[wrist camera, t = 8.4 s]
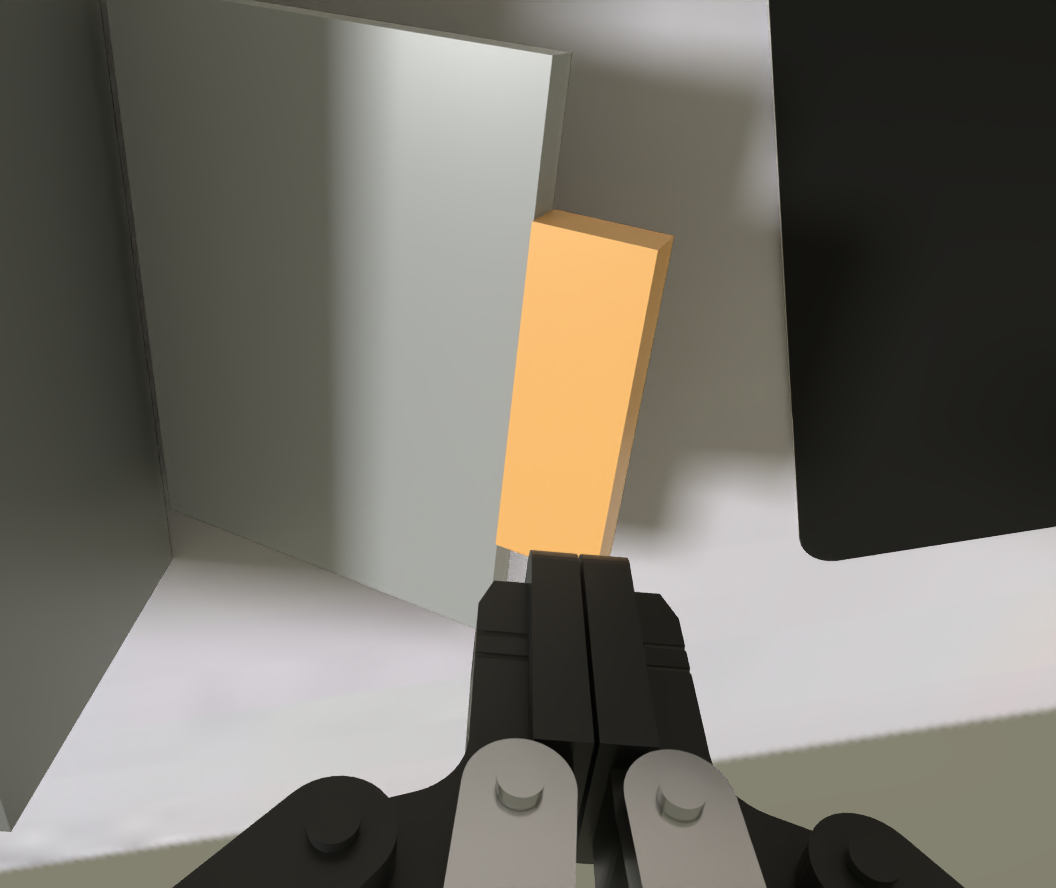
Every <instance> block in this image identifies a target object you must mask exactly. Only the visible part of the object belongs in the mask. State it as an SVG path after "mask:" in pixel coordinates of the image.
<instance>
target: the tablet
mask: <svg viewBox="0 0 1056 888" xmlns="http://www.w3.org/2000/svg"><path fill="white" fill-rule="evenodd" d="M767 15H768V32H769V49H770V66H771V83H772V99H773V116H774V133H775V150H776V167H777V183H778V200H779V217H780V234H781V251H782V267H783V284H784V301H785V318H786V334H787V351H788V368H789V385H790V402H791V418H792V435H793V452H794V469H795V486H796V502H797V519H798V536H799V541H800V543H801V546H802V547H803V549H804V550H805V551H806V552H807V553H808V554H809V555H811V556H812V557H814V558H817V559H820V560H824V561H838V560H845V559H851V558H858V557H864V556H870V555H877V554H883V553H890V552H896V551H902V550H909V549H915V548H922V547H928V546H934V545H941V544H947V543H953V542H960V541H966V540H973V539H979V538H985V537H992V536H998V535H1004V534H1011V533H1017V532H1024V531H1030V530H1036V529H1043V528H1049V527H1055V526H1056V0H767Z"/></svg>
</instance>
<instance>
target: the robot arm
mask: <svg viewBox="0 0 1056 888" xmlns="http://www.w3.org/2000/svg"><path fill="white" fill-rule="evenodd" d="M576 863H583V864H594V875H595V887H596V888H964V887H963V886H962V885H961V884H959V883H958V882H957V881H956V880H955V879H953V878H952V877H951V876H950V875H949V874H947V873H946V872H945V871H944V870H943V869H941V868H940V867H939V866H938V865H937V864H935V863H934V862H933V861H932V860H931V859H930V858H928V857H927V856H926V855H925V854H924V853H922V852H921V851H920V850H919V849H918V848H916V847H915V846H914V845H913V844H912V843H911V842H909V841H908V840H907V839H906V838H904V837H903V836H902V835H901V834H899V833H898V832H897V831H895V830H894V829H893V828H891V827H889V826H888V825H886V824H884V823H883V822H880V821H878V820H876V819H874V818H871V817H868V816H864V815H860V814H854V813H839V814H834V815H831V816H828V817H826V818H824V819H823V820H821V821H820V822H819V823H818V824H817V825H816V826H815V827H814V829H813V831H811V830H808V829H806V828H803V827H801V826H798V825H795V824H792V823H790V822H787V821H784V820H781V819H779V818H776V817H773V816H770V815H768V814H766V813H763V812H761V811H759V810H757V809H755V808H753V807H752V806H750V805H748V804H747V803H745V802H744V801H743V800H741V799H740V798H738V797H737V796H736V794H735V792H734V790H733V788H732V786H731V785H730V783H729V781H728V780H727V779H726V778H725V777H724V775H723V774H722V773H721V772H720V771H719V770H718V769H717V768H716V767H714V766H713V764H712V761H711V758H710V754H709V750H708V746H707V741H706V737H705V732H704V728H703V724H702V719H701V715H700V710H699V706H698V702H697V697H696V693H695V688H694V684H693V680H692V675H691V674H690V666H689V662H688V657H687V653H686V651H685V644H684V640H683V635H682V631H681V627H680V622H679V618H678V617H677V616H676V615H675V613H674V612H673V611H672V609H671V608H670V607H669V605H668V604H667V603H666V601H665V600H664V599H663V598H662V596H661V595H660V594H653V593H641V592H634V587H633V581H632V575H631V569H630V563H629V560H628V558H624V557H612V556H600V555H588V554H580V555H579V558H578V555H577V554H574V553H563V552H551V551H539V550H530V553H529V558H528V564H527V571H526V579H525V583H519V582H507V581H495V580H494V581H493V583H492V584H491V586H490V587H489V588H488V590H487V591H486V593H485V594H484V596H483V597H482V598H481V600H480V601H479V603H478V613H477V622H476V632H475V642H474V651H473V661H472V670H471V682H470V695H469V709H468V722H467V736H466V749H465V755H464V757H463V758H462V760H461V762H460V764H459V765H458V766H457V767H456V768H455V770H454V771H453V772H452V773H450V774H449V775H448V776H447V777H446V778H444V779H443V780H441V781H440V782H438V783H437V784H434V785H432V786H430V787H428V788H425V789H422V790H419V791H415V792H411V793H407V794H403V795H399V796H394V797H390V798H388V797H387V796H386V795H385V794H384V793H383V792H382V791H381V790H380V789H379V788H378V787H376V786H375V785H373V784H372V783H369V782H367V781H365V780H363V779H359V778H355V777H349V776H331V777H326V778H321V779H318V780H315V781H312V782H310V783H308V784H306V785H304V786H302V787H300V788H299V789H297V790H296V791H294V792H293V793H292V794H290V795H289V796H288V797H287V798H285V799H284V800H283V801H281V802H280V803H279V804H278V805H276V806H275V807H274V808H273V809H271V810H270V811H269V812H268V813H266V814H265V815H264V816H262V817H261V818H260V819H259V820H257V821H256V822H255V823H254V824H252V825H251V826H250V827H249V828H247V829H246V830H245V831H243V832H242V833H241V834H240V835H238V836H237V837H236V838H235V839H233V840H232V841H231V842H230V843H228V844H227V845H226V846H225V847H223V848H222V849H221V850H220V851H218V852H217V853H216V854H215V855H213V856H212V857H211V858H209V859H208V860H207V861H206V862H204V863H203V864H202V865H200V866H199V867H198V868H197V869H195V870H194V871H193V872H192V873H190V874H189V875H188V876H187V877H185V878H184V879H183V880H181V881H180V882H179V883H178V884H176V885H175V886H174V887H173V888H575V881H576Z"/></svg>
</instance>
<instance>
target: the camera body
mask: <svg viewBox="0 0 1056 888" xmlns="http://www.w3.org/2000/svg"><path fill="white" fill-rule="evenodd" d="M171 561H172V553H171V546H170V538H169V530H168V523H167V515H166V507H165V500H164V492H163V484H162V477H161V469H160V461H159V454H158V446H157V438H156V431H155V423H154V415H153V408H152V400H151V392H150V385H149V377H148V369H147V362H146V354H145V346H144V339H143V331H142V323H141V316H140V308H139V300H138V293H137V285H136V277H135V270H134V262H133V254H132V247H131V239H130V231H129V224H128V216H127V208H126V201H125V193H124V185H123V178H122V170H121V162H120V155H119V147H118V139H117V132H116V124H115V116H114V109H113V101H112V93H111V86H110V78H109V70H108V63H107V55H106V47H105V40H104V32H103V24H102V17H101V9H100V1H99V0H0V831H6V832H11V831H12V829H13V827H14V826H15V824H16V822H17V821H18V819H19V817H20V816H21V814H22V812H23V811H24V809H25V807H26V806H27V804H28V802H29V800H30V799H31V797H32V795H33V794H34V792H35V790H36V789H37V787H38V785H39V784H40V782H41V780H42V778H43V777H44V775H45V773H46V772H47V770H48V768H49V767H50V765H51V763H52V762H53V760H54V758H55V757H56V755H57V753H58V751H59V750H60V748H61V746H62V745H63V743H64V741H65V740H66V738H67V736H68V735H69V733H70V731H71V729H72V728H73V726H74V724H75V723H76V721H77V719H78V718H79V716H80V714H81V713H82V711H83V709H84V708H85V706H86V704H87V702H88V701H89V699H90V697H91V696H92V694H93V692H94V691H95V689H96V687H97V686H98V684H99V682H100V680H101V679H102V677H103V675H104V674H105V672H106V670H107V669H108V667H109V665H110V664H111V662H112V660H113V659H114V657H115V655H116V653H117V652H118V650H119V648H120V647H121V645H122V643H123V642H124V640H125V638H126V637H127V635H128V633H129V632H130V630H131V628H132V626H133V625H134V623H135V621H136V620H137V618H138V616H139V615H140V613H141V611H142V610H143V608H144V606H145V604H146V603H147V601H148V599H149V598H150V596H151V594H152V593H153V591H154V589H155V588H156V586H157V584H158V583H159V581H160V579H161V577H162V576H163V574H164V572H165V571H166V569H167V567H168V566H169V564H170V562H171Z"/></svg>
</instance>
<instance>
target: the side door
mask: <svg viewBox="0 0 1056 888" xmlns="http://www.w3.org/2000/svg"><path fill="white" fill-rule="evenodd" d="M106 7H107V15H108V23H109V30H110V38H111V46H112V54H113V62H114V70H115V78H116V85H117V93H118V101H119V109H120V117H121V125H122V133H123V141H124V148H125V156H126V164H127V172H128V180H129V188H130V196H131V204H132V211H133V219H134V227H135V235H136V243H137V251H138V259H139V266H140V274H141V282H142V290H143V298H144V306H145V314H146V322H147V329H148V337H149V345H150V353H151V361H152V369H153V377H154V385H155V392H156V400H157V408H158V416H159V424H160V432H161V440H162V447H163V455H164V463H165V471H166V479H167V487H168V495H169V503H170V509H172V510H175V511H177V512H180V513H182V514H185V515H187V516H190V517H193V518H195V519H198V520H200V521H203V522H205V523H208V524H210V525H213V526H215V527H218V528H220V529H223V530H226V531H228V532H231V533H233V534H236V535H238V536H241V537H243V538H246V539H248V540H251V541H254V542H256V543H259V544H261V545H264V546H266V547H269V548H271V549H274V550H276V551H279V552H281V553H284V554H287V555H289V556H292V557H294V558H297V559H299V560H302V561H304V562H307V563H309V564H312V565H315V566H317V567H320V568H322V569H325V570H327V571H330V572H332V573H335V574H337V575H340V576H342V577H345V578H348V579H350V580H353V581H355V582H358V583H360V584H363V585H365V586H368V587H370V588H373V589H376V590H378V591H381V592H383V593H386V594H388V595H391V596H393V597H396V598H398V599H401V600H403V601H406V602H409V603H411V604H414V605H416V606H419V607H421V608H424V609H426V610H429V611H431V612H434V613H437V614H439V615H442V616H444V617H447V618H449V619H452V620H454V621H457V622H459V623H462V624H464V625H467V626H470V627H472V628H475V629H476V622H477V613H478V603H479V601H480V600H481V598H482V597H483V596H484V594H485V593H486V591H487V590H488V588H489V587H490V586H491V584H492V583H493V581H494V580H495V581H507V574H508V566H509V558H510V550H512V551H515V552H518V553H520V554H523V555H526V556H529V553H530V550H539V551H551V552H563V553H574V554H577V555H578V558H579V555H580V554H588V555H600V556H609V555H610V554H611V550H612V545H613V540H614V535H615V530H616V525H617V520H618V515H619V510H620V505H621V500H622V495H623V490H624V485H625V480H626V475H627V470H628V465H629V460H630V455H631V450H632V445H633V440H634V435H635V430H636V425H637V420H638V415H639V410H640V405H641V400H642V395H643V390H644V385H645V380H646V375H647V370H648V365H649V360H650V355H651V350H652V345H653V340H654V335H655V330H656V325H657V320H658V315H659V310H660V305H661V300H662V295H663V290H664V285H665V280H666V275H667V270H668V265H669V260H670V255H671V250H672V244H673V239H674V236H673V235H668V234H664V233H659V232H655V231H650V230H646V229H641V228H637V227H633V226H628V225H624V224H619V223H615V222H610V221H606V220H601V219H597V218H592V217H588V216H583V215H579V214H574V213H570V212H566V211H561V210H557V209H553V203H554V195H555V187H556V179H557V171H558V162H559V154H560V146H561V138H562V130H563V122H564V114H565V106H566V98H567V90H568V82H569V74H570V66H571V58H572V53H571V52H565V51H559V50H553V49H547V48H541V47H535V46H529V45H523V44H517V43H510V42H504V41H498V40H492V39H486V38H480V37H474V36H468V35H462V34H456V33H449V32H443V31H437V30H431V29H425V28H419V27H413V26H407V25H401V24H394V23H388V22H382V21H376V20H370V19H364V18H358V17H352V16H346V15H340V14H333V13H327V12H321V11H315V10H309V9H303V8H297V7H291V6H285V5H278V4H272V3H266V2H260V1H254V0H106Z"/></svg>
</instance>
